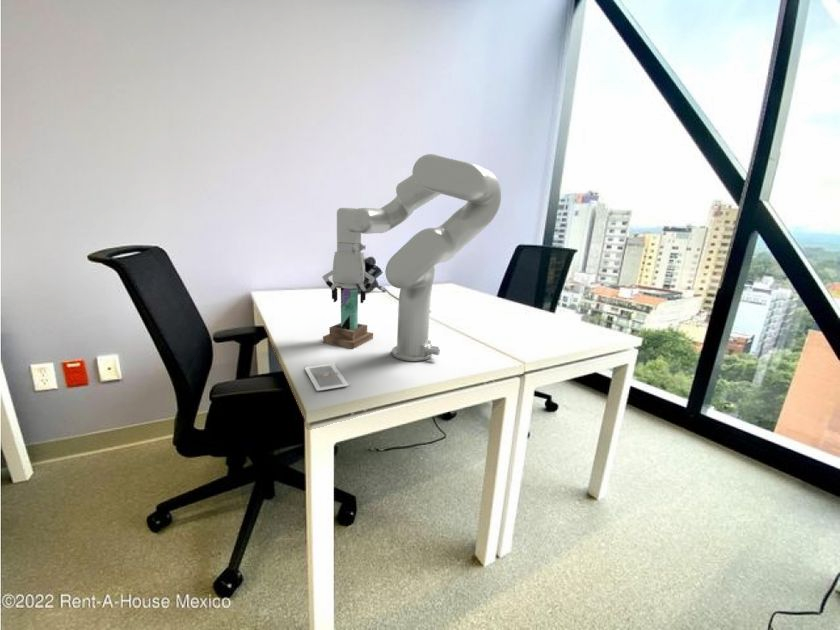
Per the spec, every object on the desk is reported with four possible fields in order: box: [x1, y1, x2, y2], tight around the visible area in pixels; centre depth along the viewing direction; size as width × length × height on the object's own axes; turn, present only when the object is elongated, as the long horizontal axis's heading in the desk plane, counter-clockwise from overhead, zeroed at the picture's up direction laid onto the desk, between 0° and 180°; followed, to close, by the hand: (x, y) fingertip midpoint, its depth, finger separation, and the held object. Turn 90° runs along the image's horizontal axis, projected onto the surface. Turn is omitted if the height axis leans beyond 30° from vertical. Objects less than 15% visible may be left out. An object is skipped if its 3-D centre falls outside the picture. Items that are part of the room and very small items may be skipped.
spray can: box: [340, 283, 359, 330], centre depth 123 cm, size 6×6×20 cm
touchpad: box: [304, 363, 350, 392], centre depth 97 cm, size 8×15×2 cm, turn 28°
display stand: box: [322, 322, 374, 349], centre depth 126 cm, size 12×12×5 cm
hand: (348, 301), depth 123 cm, fingers open, 8 cm apart
